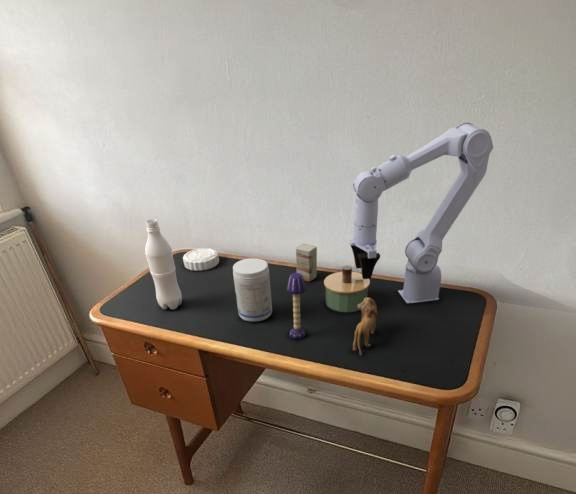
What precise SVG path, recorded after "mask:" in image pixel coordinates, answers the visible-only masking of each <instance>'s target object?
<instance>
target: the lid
mask: <svg viewBox="0 0 576 494" xmlns="http://www.w3.org/2000/svg"><path fill="white" fill-rule="evenodd" d="M341 269H342V270H341V271H338V272H334V273H333V272H332V273H331V274H329V275H327V276H326V277H325V278H324V280H323V285H324V287H325V289H326V288H327V289H328V290H330V291H333V292H336V293H343V294H351V293H357V292H361V291H363V290H365V289H367V288H368V289H369V287H370V284H371V279H363V277H362V272H361V273H360V272H357V271H353V267H352V266H351V265H344V266H342V268H341Z"/></svg>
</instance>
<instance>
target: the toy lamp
mask: <svg viewBox="0 0 576 494" xmlns="http://www.w3.org/2000/svg"><path fill="white" fill-rule="evenodd" d="M288 277H289V278H288V282H287V287H286V291H287V293H289V294H290V295H291V294H292V307H293V308H292V312H293V328H291V329H290V331H289V334H288V336H289V337H290V338H291V339H294V340H301V339H303V338H305V337H306V331H305V329H304V328H302V325H301V296H300V295H301V294H304V293H305V292H306V291H307V287H306V281H304V279H303V276H302V274H301V273H297V272H293V273H290V275H289V276H288Z"/></svg>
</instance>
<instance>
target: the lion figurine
mask: <svg viewBox="0 0 576 494" xmlns="http://www.w3.org/2000/svg"><path fill="white" fill-rule="evenodd" d="M357 306H358V309H359V310H358V311H360V312H361V320H360V322H358V324H357V325H356V329H355V330H354V339H353V343H352V351H358V352H359V355H360V356H363V350H362V349H361V348H362V347H361V335H362V337H363V339H364V345H365V347H366V348H369V347H370V346H372V345H371V343H369V341H370V334H372V335H374V334H375V330H376V326H377V321H378V314H379V313H378V308H377V307H378V306H377V303H376V301H375V300H374V299H373V298H372V297H369V296H368V297H367V298H364V301H363V302H362V303H359V304H358V305H357Z"/></svg>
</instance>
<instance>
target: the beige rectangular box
mask: <svg viewBox="0 0 576 494" xmlns="http://www.w3.org/2000/svg"><path fill="white" fill-rule="evenodd" d="M317 261H318V247H317V246H316V245H312V244H308V243H301V244H300V245H298V246H297V247H296V248H295V263H296V264H295V266H296V273H301V274H302V276H303V279H304V282H308V283H310V282H311V281H313V280H315V279H316V278H317V276H318V275H317V274H318V273H317V271H318V270H317V269H318V267H317V265H318V264H317Z"/></svg>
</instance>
